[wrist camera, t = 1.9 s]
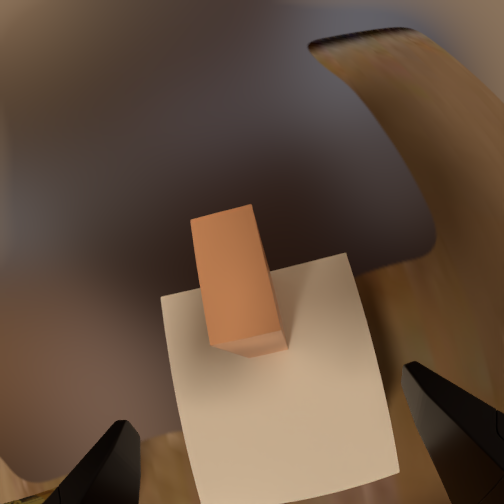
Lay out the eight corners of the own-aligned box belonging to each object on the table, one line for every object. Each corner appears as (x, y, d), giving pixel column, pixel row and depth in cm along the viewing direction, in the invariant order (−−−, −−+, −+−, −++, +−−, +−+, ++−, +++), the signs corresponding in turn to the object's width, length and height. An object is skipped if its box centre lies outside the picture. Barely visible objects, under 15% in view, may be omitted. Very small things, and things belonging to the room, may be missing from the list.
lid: (395, 468, 13) (461, 526, 5) (207, 506, 13) (145, 578, 6) (343, 257, 18) (373, 171, 10) (165, 300, 18) (82, 246, 11)
